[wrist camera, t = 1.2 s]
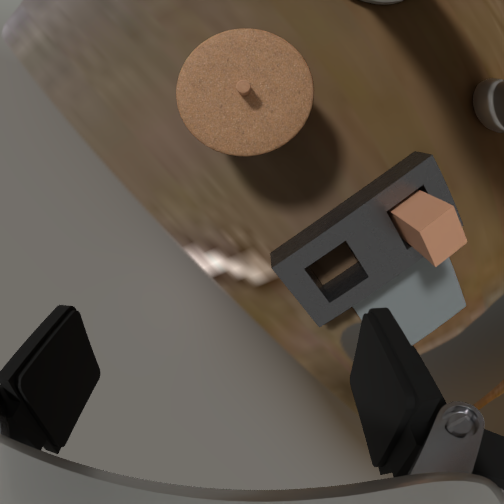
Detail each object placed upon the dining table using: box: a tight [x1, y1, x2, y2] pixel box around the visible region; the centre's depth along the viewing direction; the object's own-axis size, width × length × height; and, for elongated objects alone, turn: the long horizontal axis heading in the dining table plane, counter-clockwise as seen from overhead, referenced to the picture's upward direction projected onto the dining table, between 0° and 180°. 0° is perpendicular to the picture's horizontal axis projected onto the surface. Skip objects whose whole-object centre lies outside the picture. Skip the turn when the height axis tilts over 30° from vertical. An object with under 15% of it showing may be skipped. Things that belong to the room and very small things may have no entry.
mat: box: [352, 257, 466, 346], centre depth 37 cm, size 14×12×1 cm
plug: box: [387, 189, 467, 267], centre depth 28 cm, size 4×4×10 cm
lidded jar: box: [176, 29, 314, 156], centre depth 25 cm, size 11×11×9 cm
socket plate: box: [270, 151, 463, 327], centre depth 32 cm, size 20×9×4 cm, turn 127°
